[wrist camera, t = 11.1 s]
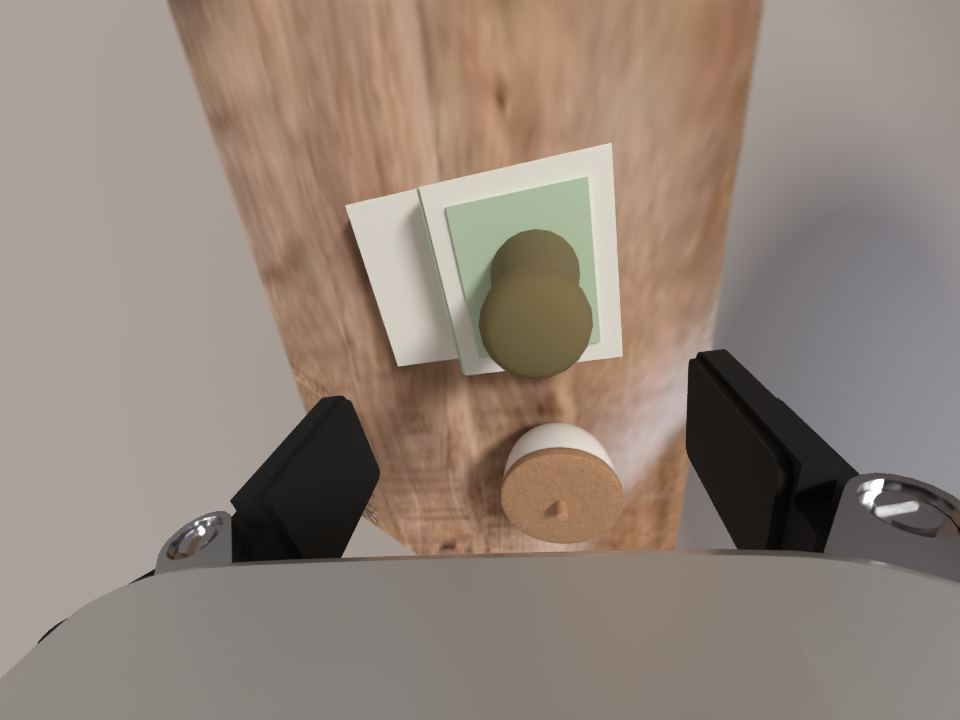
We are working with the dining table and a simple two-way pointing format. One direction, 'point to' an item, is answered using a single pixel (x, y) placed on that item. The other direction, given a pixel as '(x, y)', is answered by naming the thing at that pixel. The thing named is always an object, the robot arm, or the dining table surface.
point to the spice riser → (486, 251)
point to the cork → (535, 306)
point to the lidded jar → (561, 485)
